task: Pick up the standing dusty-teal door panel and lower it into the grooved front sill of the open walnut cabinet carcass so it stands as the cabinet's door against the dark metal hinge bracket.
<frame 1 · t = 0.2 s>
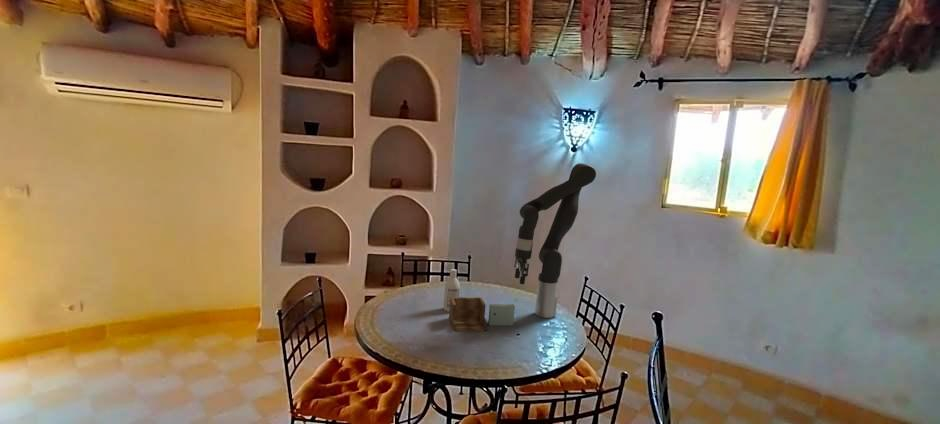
hand: (519, 280, 237), 17 cm above the table, tool pointing down, fingers open, 8 cm apart
bath foam: (450, 310, 242), on the table
cabinet: (466, 323, 227), on the table
door: (500, 324, 229), on the table
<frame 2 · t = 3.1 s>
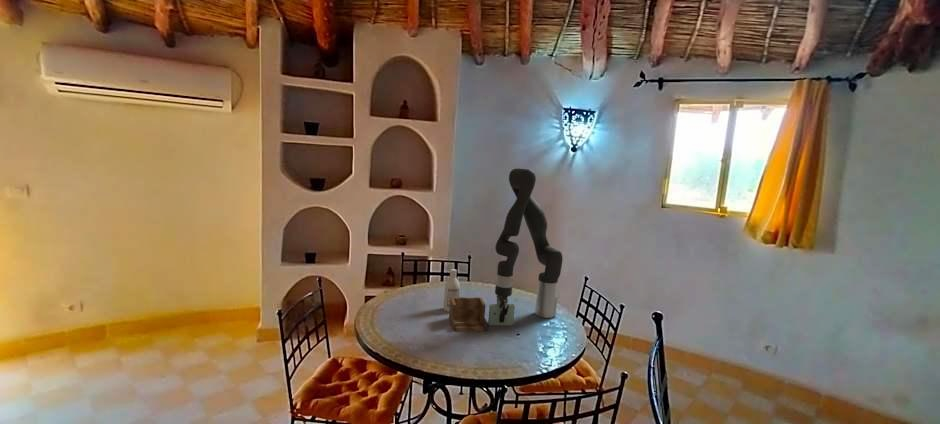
hand: (500, 320, 229), 2 cm above the table, tool pointing down, fingers closed on door, 2 cm apart
door: (500, 324, 229), on the table, touching gripper
everything else where it was.
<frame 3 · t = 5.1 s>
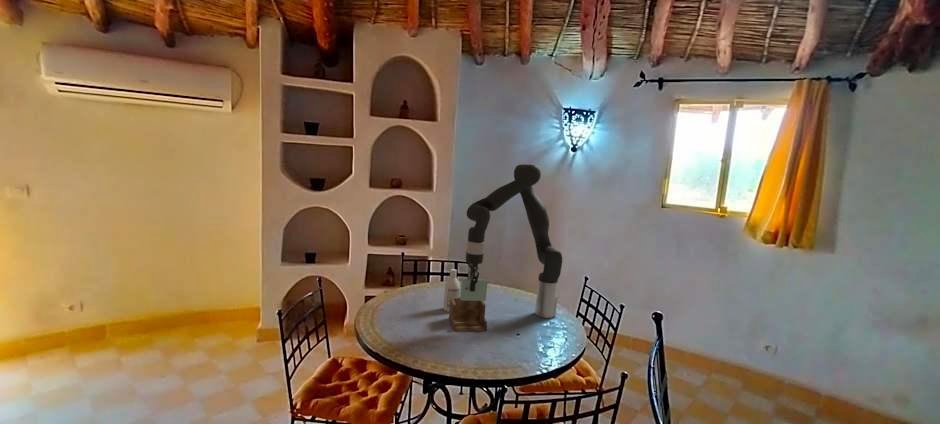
hand: (471, 289, 219), 18 cm above the table, tool pointing down, fingers closed on door, 2 cm apart
door: (472, 299, 220), point 13 cm above the table, touching gripper
everything else where it was.
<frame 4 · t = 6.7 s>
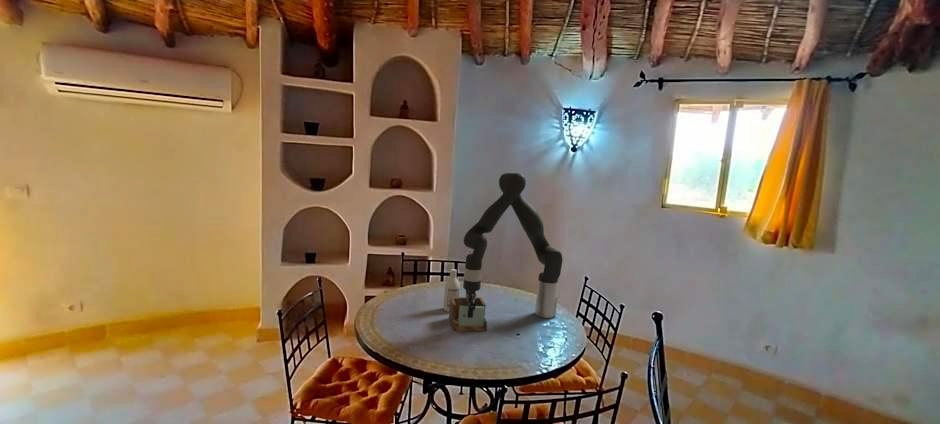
hand: (469, 315, 221), 6 cm above the table, tool pointing down, fingers closed on door, 2 cm apart
door: (470, 326, 222), point 1 cm above the table, touching cabinet, gripper
everything else where it was.
when the fingers open (3 cm above the table, at t = 7.5 s): door stays where it is, resting in cabinet.
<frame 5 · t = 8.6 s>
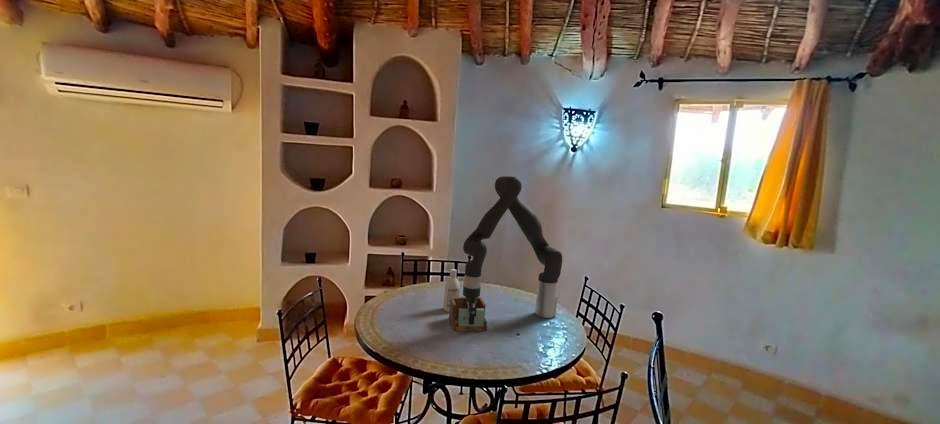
hand: (469, 320, 221), 4 cm above the table, tool pointing down, fingers open, 8 cm apart
door: (470, 328, 221), resting in cabinet
everything else where it was.
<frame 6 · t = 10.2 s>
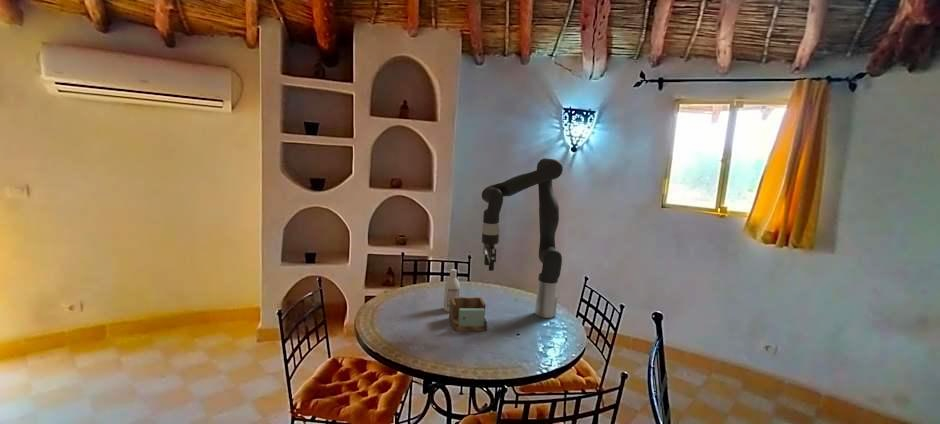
hand: (488, 267, 226), 25 cm above the table, tool pointing down, fingers open, 8 cm apart
nothing on the table moved.
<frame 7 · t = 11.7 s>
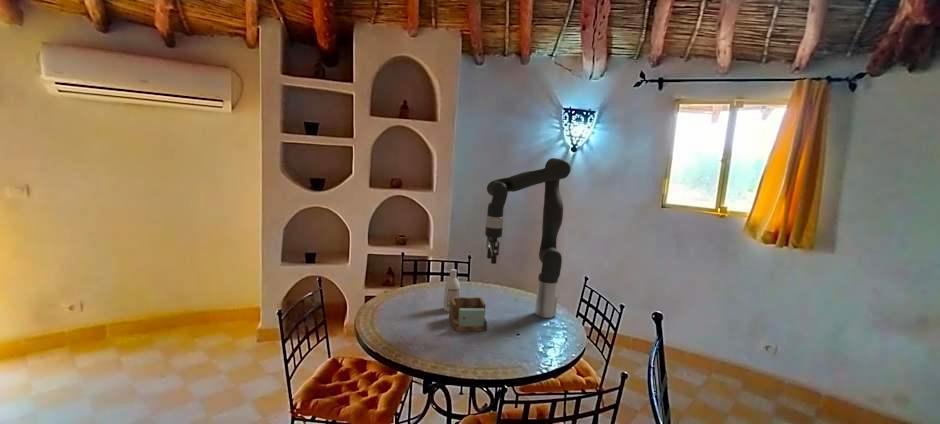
hand: (491, 260, 228), 28 cm above the table, tool pointing down, fingers open, 8 cm apart
nothing on the table moved.
at the end: door 0.9 cm from the target spot on the cabinet, point 0.0 cm above the cabinet's base; door tilted 0°; the gripper is holding nothing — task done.
